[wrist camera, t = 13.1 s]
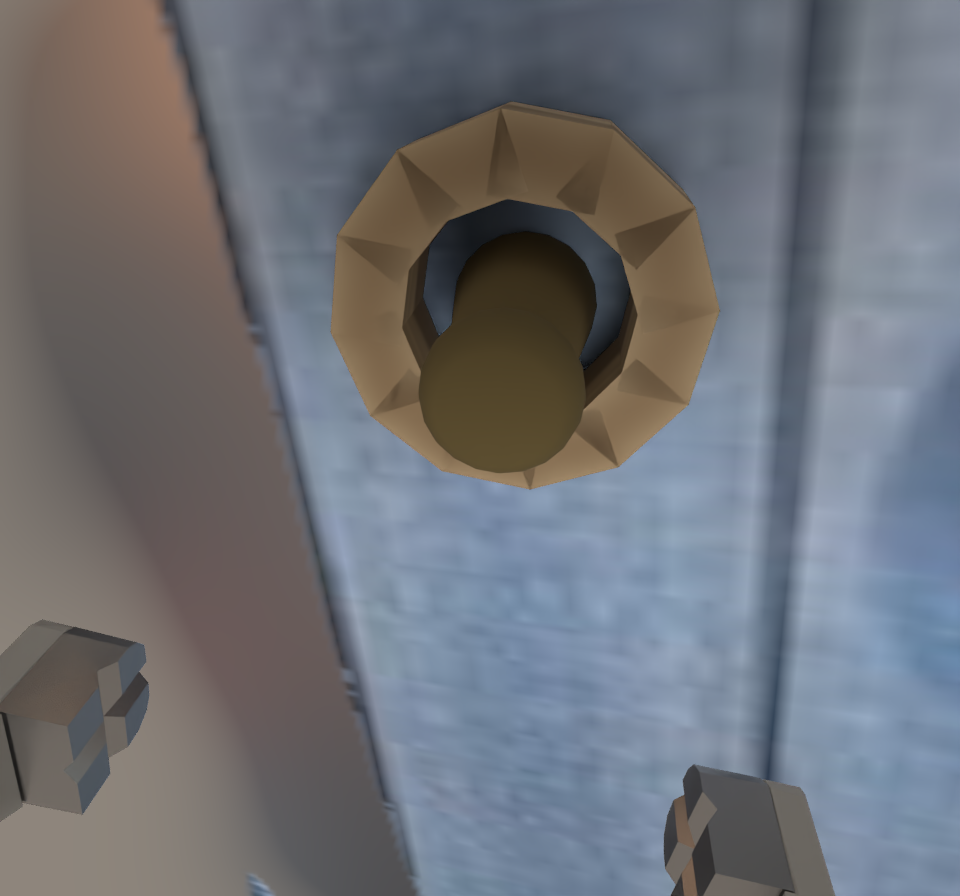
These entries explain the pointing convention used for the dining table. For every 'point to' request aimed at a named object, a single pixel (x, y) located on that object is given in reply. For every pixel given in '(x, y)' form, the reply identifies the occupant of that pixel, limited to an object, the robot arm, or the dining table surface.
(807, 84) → the dining table surface
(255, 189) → the dining table surface
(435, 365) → the dark brown rounded piece
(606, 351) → the tan faceted ring
